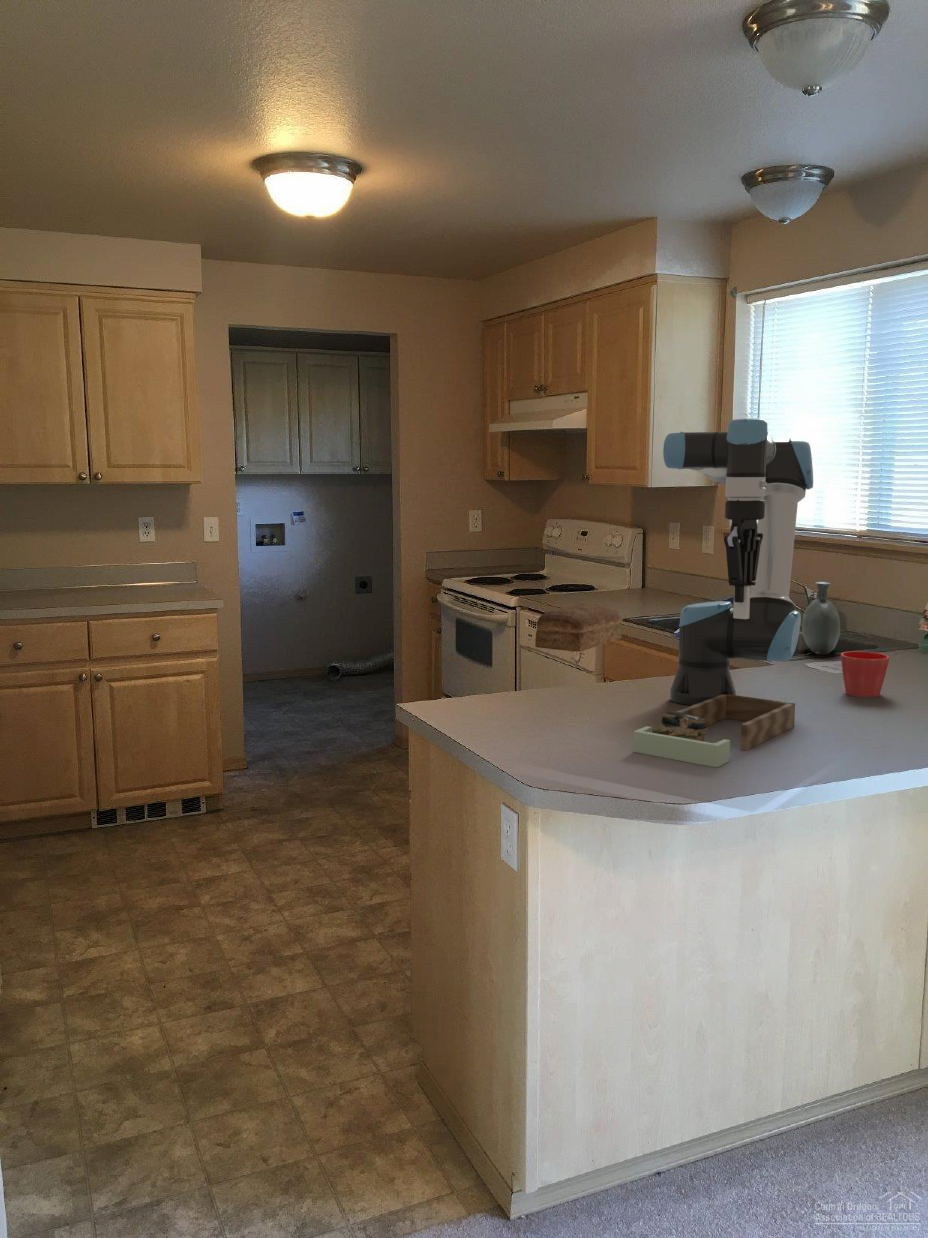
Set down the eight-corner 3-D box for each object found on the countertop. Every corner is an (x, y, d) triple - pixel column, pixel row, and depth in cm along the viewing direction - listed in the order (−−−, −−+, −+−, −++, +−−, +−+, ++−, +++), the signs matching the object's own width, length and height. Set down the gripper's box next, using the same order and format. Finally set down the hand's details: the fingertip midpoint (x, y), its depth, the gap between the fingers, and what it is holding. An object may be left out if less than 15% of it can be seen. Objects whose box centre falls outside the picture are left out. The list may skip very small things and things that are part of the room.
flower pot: (891, 699, 238) (893, 659, 237) (842, 697, 241) (844, 657, 239) (882, 690, 249) (884, 652, 247) (835, 689, 251) (837, 650, 250)
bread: (624, 643, 324) (625, 602, 322) (578, 656, 299) (579, 612, 298) (578, 638, 334) (578, 599, 332) (529, 650, 309) (530, 608, 307)
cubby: (746, 750, 193) (747, 725, 192) (671, 737, 203) (672, 713, 202) (794, 726, 212) (795, 703, 211) (723, 716, 222) (724, 693, 221)
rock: (646, 742, 197) (648, 713, 196) (681, 738, 202) (682, 710, 202) (679, 750, 190) (680, 720, 189) (713, 745, 195) (714, 716, 194)
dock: (717, 767, 181) (717, 745, 181) (632, 751, 192) (633, 731, 192) (729, 761, 185) (730, 740, 185) (646, 746, 196) (646, 726, 196)
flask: (846, 653, 304) (849, 580, 301) (833, 661, 289) (836, 585, 286) (806, 649, 310) (809, 578, 307) (792, 657, 296) (795, 583, 293)
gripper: (748, 500, 190) (744, 624, 193) (777, 498, 200) (772, 616, 203) (712, 499, 195) (708, 620, 198) (741, 497, 204) (738, 612, 208)
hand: (741, 618), depth 201 cm, fingers closed
